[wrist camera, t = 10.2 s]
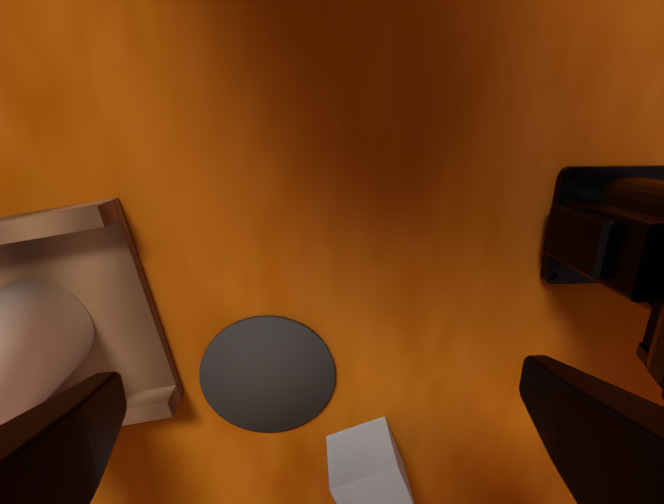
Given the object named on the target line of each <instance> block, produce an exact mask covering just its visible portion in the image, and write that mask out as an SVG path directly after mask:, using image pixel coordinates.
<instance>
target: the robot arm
mask: <svg viewBox="0 0 664 504" xmlns="http://www.w3.org/2000/svg"><path fill="white" fill-rule="evenodd" d="M569 173H572V177H571V179H570V180H567V177H568V174H569ZM544 252H545V254H544V260H543V265H542V271H541V277H542V279H543V280H544V281H546V282H547V283H549V284H575V283H600V284H602V285H604V286H606V287H607V288H609V289H611V290H613V291H615V292H616V293H618V294H620V295H622V296H624V297H625V298H627V299H629V300H631V301H633V302H635V303H637V304H639V305H641V306H643V307H644V308H646V309H648V310H650V311H651V313H650V317H649V320H648V324H647V328H646V331H645V335H644V338H643V342H641V343H639V345H638V349H637V353H636V354H637V356H638V357H639V359H640V360H641V361H642V363H643V364H644V365H645V366H646V368H647V369H648V372H649V373H650V374H651V376H652V377H653V378H654V380H655V381H656V382H657V383H658V385H659V386H660V387H661V388H662V389H663V390H662V394H661V397H662V398H663V400H664V165H653V166H568V167H565V168H563V169H562V170H561V171H560V172H559V175H558V180H557V185H556V191H555V197H554V203H553V207H552V208H551V211H550V217H549V222H548V228H547V234H546V240H545V245H544ZM552 272H554V274H553V276H552V277H549V275H550V274H551V273H552ZM519 391H520V395H521V398H522V400H523V402H524V404H525V407H526V409H527V411H528V413H529V415H530V417H531V419H532V421H533V423H534V425H535V428H536V430H537V432H538V434H539V436H540V438H541V440H542V442H543V444H544V446H545V448H546V450H547V452H548V454H549V456H550V458H551V460H552V462H553V464H554V465H555V467H556V469H557V471H558V472H559V474H560V476H561V477H562V479H563V481H564V482H565V484H566V486H567V487H568V489H569V491H570V492H571V494H572V496H573V497H574V499H575V501H576V502H577V504H664V407H662V406H660V405H658V404H655V403H653V402H651V401H649V400H646V399H644V398H642V397H639V396H637V395H635V394H633V393H630V392H628V391H626V390H623V389H621V388H619V387H617V386H614V385H612V384H610V383H607V382H605V381H603V380H601V379H598V378H596V377H594V376H591V375H589V374H587V373H585V372H582V371H580V370H578V369H575V368H573V367H571V366H569V365H566V364H564V363H562V362H559V361H557V360H555V359H553V358H550V357H548V356H545V355H532V356H527V357H526V358H525V359H524V362H523V367H522V373H521V379H520V385H519ZM126 411H127V401H126V396H125V391H124V386H123V381H122V377H121V375H120V373H118V372H116V371H113V372H98V373H96V374H94V375H92V376H90V377H88V378H86V379H85V380H83V381H81V382H79V383H77V384H75V385H73V386H72V387H70V388H68V389H66V390H64V391H62V392H61V393H59V394H57V395H55V396H53V397H51V398H49V399H48V400H46V401H44V402H42V403H40V404H38V405H37V406H35V407H33V408H31V409H29V410H27V411H25V412H24V413H22V414H20V415H18V416H16V417H14V418H12V419H11V420H9V421H7V422H5V423H3V424H1V425H0V504H90V503H91V501H92V499H93V497H94V494H95V492H96V490H97V488H98V486H99V484H100V481H101V479H102V476H103V474H104V471H105V469H106V466H107V463H108V461H109V458H110V455H111V453H112V450H113V447H114V445H115V442H116V439H117V436H118V434H119V431H120V428H121V426H122V423H123V420H124V418H125V415H126Z"/></svg>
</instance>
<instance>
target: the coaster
mask: <svg viewBox="0 0 664 504" xmlns="http://www.w3.org/2000/svg"><path fill="white" fill-rule="evenodd" d="M200 384H201V389H202V391H203V394H204V396H205V398H206V400H207V402H208V403H209V405H210V406H211V407H212V409H213V410H214V411H215V412H216V413H217V414H218V415H219V416H221V417H222V418H223V419H225V420H226V421H228V422H229V423H231V424H233V425H235V426H237V427H240V428H243V429H246V430H250V431H254V432H263V433H273V432H281V431H286V430H290V429H293V428H296V427H298V426H301V425H303V424H305V423H306V422H308V421H310V420H311V419H312V418H314V417H315V416H316V415H317V414H318V413H319V412H320V411H321V410H322V409H323V408H324V407H325V405H326V404H327V402H328V401H329V399H330V397H331V395H332V392H333V389H334V385H335V366H334V361H333V357H332V355H331V352H330V350H329V349H328V347H327V345H326V344H325V342H324V341H323V340H322V339H321V337H320V336H319V335H317V334H316V333H315V332H314V331H313V330H311V329H310V328H309V327H307V326H305V325H303V324H302V323H300V322H297V321H295V320H292V319H288V318H285V317H279V316H255V317H250V318H246V319H243V320H240V321H238V322H236V323H233V324H231V325H230V326H228V327H227V328H225V329H223V330H222V331H221V332H220V333H219V334H218V335H217V336H216V337H215V338H214V339H213V340H212V341H211V343H210V344H209V346H208V347H207V349H206V351H205V354H204V356H203V358H202V362H201V365H200Z"/></svg>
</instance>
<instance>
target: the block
mask: <svg viewBox="0 0 664 504" xmlns="http://www.w3.org/2000/svg"><path fill="white" fill-rule="evenodd" d="M326 440H327V457H328V473H329V490H330V492H331V494H332V496H333V498H334V500H335V502H336V504H415V503H414V499H413V496H412V492H411V489H410V485H409V482H408V478H407V474H406V471H405V467H404V464H403V460H402V458H401V456H400V453H399V451H398V448H397V446H396V443H395V441H394V438H393V436H392V433H391V431H390V428H389V426H388V423H387V421H386V418H385V416H384V417H381V418H378V419H375V420H372V421H369V422H366V423H363V424H360V425H358V426H355V427H352V428H349V429H346V430H343V431H340V432H337V433H334V434H331V435H328V436H326Z"/></svg>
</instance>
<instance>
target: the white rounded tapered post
mask: <svg viewBox="0 0 664 504" xmlns="http://www.w3.org/2000/svg"><path fill="white" fill-rule="evenodd" d="M93 343H94V326H93V323H92V320H91V318H90V315H89V314H88V312H87V310H86V309H85V307H84V306H83V305H82V304H81V303H80V302H79V301H78V300H77V299H76V298H75V297H74V296H73V295H72V294H70V293H69V292H67V291H66V290H64V289H62V288H60V287H58V286H56V285H53V284H51V283H47V282H44V281H38V280H19V281H14V282H11V283H8V284H6V285H4V286H2V287H0V425H1V424H3V423H5V422H7V421H9V420H11V419H12V418H14V417H16V416H18V415H20V414H22V413H24V412H25V411H27V410H29V409H31V408H33V407H35V406H37V405H38V404H40V403H42V402H44V401H46V399H47V398H48V397H49V396H50V395H51V394H52V393H53V392H54V391H55V390H56V389H57V388H58V387H59V386H60V385H61V384H62V383H63V382H64V380H65V379H66V378H67V377H68V376H69V375H70V374H71V373H72V372H73V371H74V370H75V369H76V368H77V367H78V366H79V365H80V364H81V363H82V361H83V360H84V359H85V358H86V357H87V356H88V354H89V353H90V351H91V349H92V346H93Z"/></svg>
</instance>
